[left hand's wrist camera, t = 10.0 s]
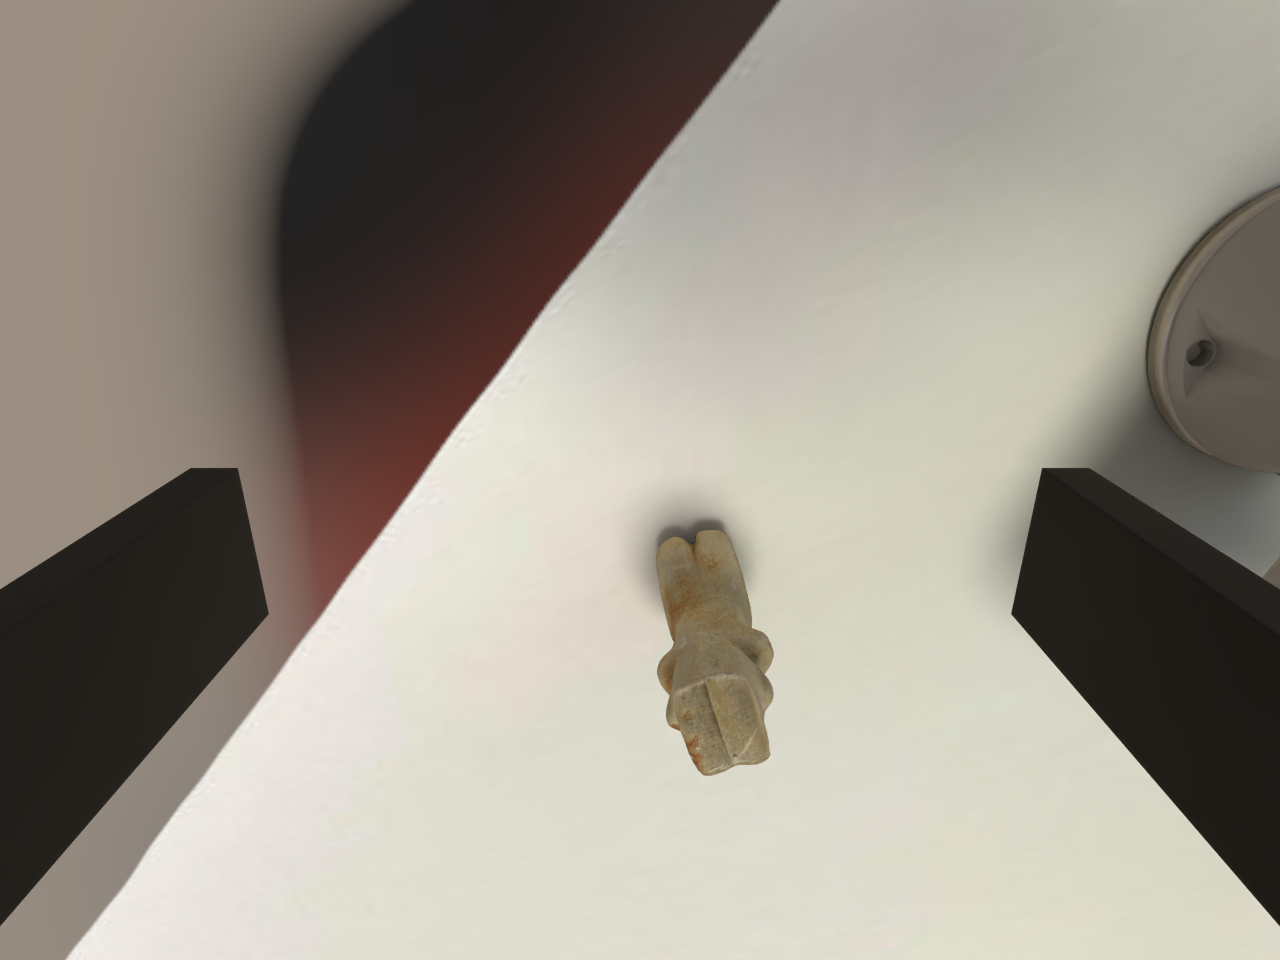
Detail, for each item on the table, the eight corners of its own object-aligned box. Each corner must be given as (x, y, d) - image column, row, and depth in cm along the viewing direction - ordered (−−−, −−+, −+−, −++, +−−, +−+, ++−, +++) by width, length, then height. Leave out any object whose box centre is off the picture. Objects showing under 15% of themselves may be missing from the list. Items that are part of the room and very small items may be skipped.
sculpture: (739, 514, 44) (785, 668, 30) (758, 617, 47) (809, 803, 33) (642, 533, 44) (643, 693, 31) (666, 634, 47) (677, 824, 33)
